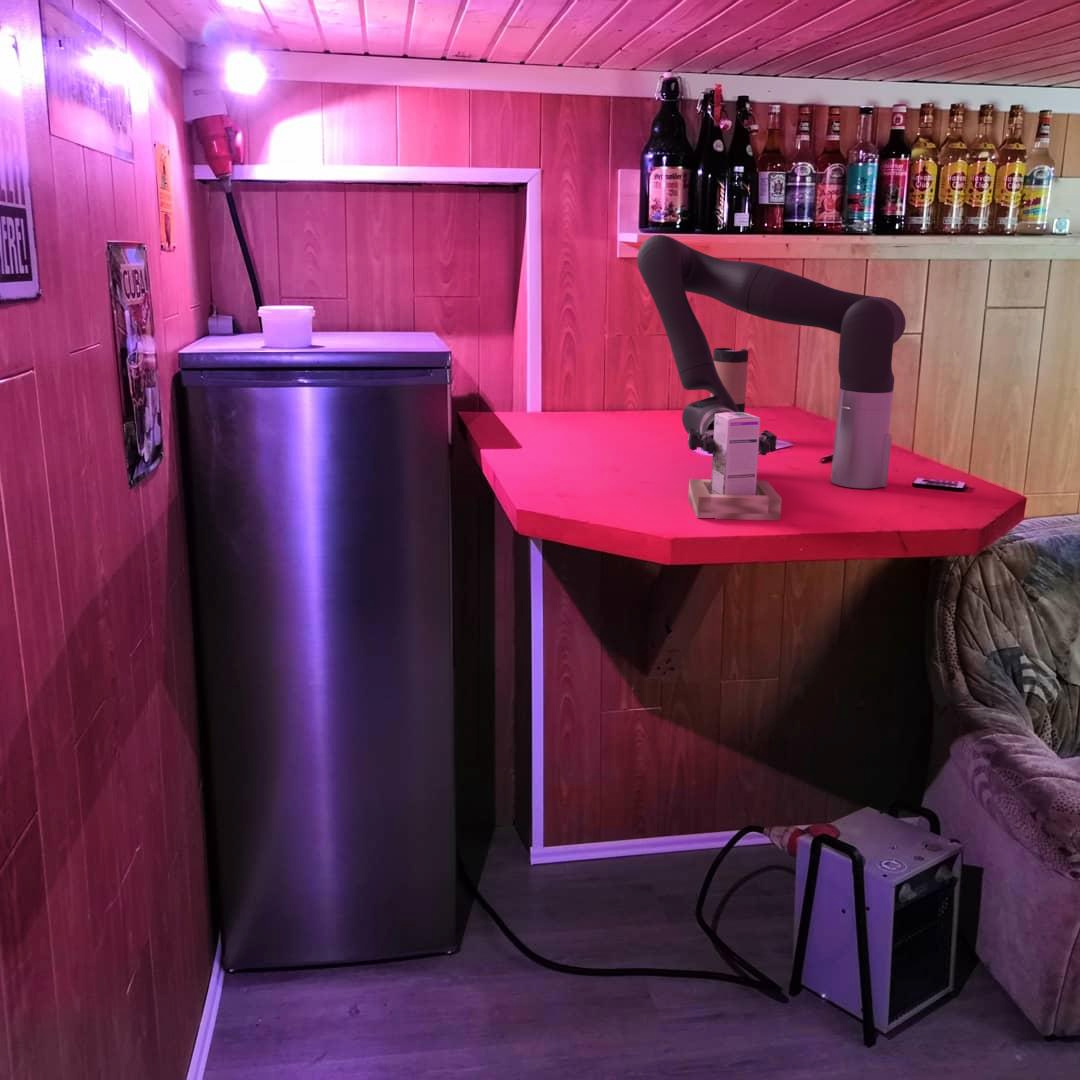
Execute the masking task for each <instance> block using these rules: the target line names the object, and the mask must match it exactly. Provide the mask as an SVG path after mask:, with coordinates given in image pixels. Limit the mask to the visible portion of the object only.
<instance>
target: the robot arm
mask: <svg viewBox="0 0 1080 1080" xmlns="http://www.w3.org/2000/svg"><path fill="white" fill-rule="evenodd" d="M636 261H637V268H638V270H639V272H640V275H641V277H642V280H643V281H644V283H645V285H646V288H647V290H648V291H649V294H650V296H651V298H652V300H653V302H654V304H655V307H656V309H657V310H656V311H657V312H658V313H659V317H660V319H661V322H662V324H663V328H664V331H665V333H666V336H667V340H668V343H669V346H670V349H671V352H672V355H673V359H674V363H675V367H676V369H677V373H678V377H679V380H680V384H681V386H682V387H683V389H684V390H686V391H700V390H701V391H707V392H709V393H710V394H711V393H712V394H713V397H707V398H703V399H699V400H696V401H692V402H691V403H688V404H687V405H686V406H685V407H684V409H683V411H682V415H681V419H682V420H681V421H682V425H683V428H684V429H685V432H686V433H687V434H688V438H687V445H688V448H689V450H690V451H696V450H698V448H700V451H703V452H707V454H708V455H713V447H714V441H713V440H714V422H715V413H716V414H717V413H725V412H739V410H738V408H737V405H736V404H735V402H734V400H733V399H732V397H731V396H730V394H729V393H728V391H727V390H726V388H725V387H724V385H723V383H722V381H721V380H720V377H719V375H718V373H717V370H716V367H715V365H714V361H713V353H712V350H711V348H710V345H709V342H708V339H707V337H706V335H705V332H704V331H703V328H702V326H701V324H700V322H699V320H698V318H697V316H696V315H695V313H694V311H693V308H692V306H691V304H690V302H689V301H690V300H689V299H688V296H687V293H692V294H697V295H701V296H705V297H709V298H712V299H714V300H715V301H718V302H720V303H721V304H724V305H726V306H729V307H730V308H732V309H736V310H737V311H740V312H742V313H746V314H748V315H751V316H755V317H758V318H762V319H765V320H769V321H772V322H776V323H777V322H778V323H783V324H788V325H795V326H804V327H812V328H817V329H818V328H820V329H823V330H828V331H830V332H833V333H836V334H838V335H840V336H839V346H838V347H839V348H838V349H839V351H838V365H837V367H838V369H837V370H838V374H839V389H838V390H839V391H838V392H839V393H838V401H837V402H838V403H837V412H836V422H835V423H836V424H835V432H834V444H833V452H832V454H833V455H832V464H831V472H830V473H831V474H830V482H831V483H832V484H833V485H836V486H840V487H846V488H853V489H877V488H878V489H879V488H887V484H888V475H889V468H890V467H889V466H890V458H891V457H890V455H891V448H892V440H893V439H892V438H893V436H892V434H890V433H889V431H890V424H891V423H890V422H891V414H892V406H893V397H894V396H893V395H894V386H895V375H894V374H893V367H892V364H893V352H894V351H893V350H894V344H895V343H897V342H898V341H899V340H900V338H901V337H902V336H903V334H904V332H905V331H906V326H907V325H906V324H907V323H906V318H905V314H904V312H903V310H902V309H901V307H900V306H899V304H897V303H896V302H894V301H893V300H891V299H888V298H887V297H881V296H873V295H871V296H870V295H866V294H859V293H853V292H849V291H844V290H840V289H836V288H832V287H830V286H827V285H826V284H825V285H824V284H823V283H820V282H818V281H816V280H812V279H809V278H807V277H804V276H802V275H798V274H795V273H794V272H793V273H792V272H789V271H787V270H784V269H780V268H777V267H772V266H768V265H766V264H763V263H758V262H757V263H756V262H750V261H742V260H741V261H740V260H725V259H721V258H717V257H714V256H712V255H709V254H706V253H704V252H701V251H698V250H697V249H695V248H692V247H690V246H688V245H687V244H684V243H683V242H681V241H679V240H677V239H676V238H673V237H671V236H667V235H665V234H656V235H655V234H654V235H652V236H650V237H648V238H647V239H646V240H645V241H643V242H642V244H641V246H640V247H639V249H638V252H637V260H636ZM777 437H778V436H777V435H776V434H774V433H773V432H771V431H770V430H767V429H765V430H762V431H761V432H760V434H759V447H758V454H760V455H761V456H767V454H768V453H770V452H771V453H772V452H773V453H774V452H776V450H777V440H778V438H777Z"/></svg>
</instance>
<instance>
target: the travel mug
mask: <svg viewBox="0 0 1080 1080" xmlns="http://www.w3.org/2000/svg"><path fill="white" fill-rule="evenodd" d="M712 357H713V361H714V365H715V367H716V370H717V373H718V375H719V377H720V380H721V381H722V383H723V385H724V387H725V388H726V390H727V391H728V393H729V394H730V396H731V397H732V399H733V400H734V402H735V404H736V405H737V408H738V410H739V412H744V413H745V407H746V397H747V383H748V382H747V380H748V366H749V365H748V364H749V349H745V348H741V349H740V350H733V349H732V348H731V347H717V348H716V347H715V348H714V349H713V353H712ZM710 397H713V394H712V393H711V392H710ZM710 397H709V398H710Z"/></svg>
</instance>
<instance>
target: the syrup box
mask: <svg viewBox="0 0 1080 1080" xmlns="http://www.w3.org/2000/svg"><path fill="white" fill-rule="evenodd" d="M760 427H761V417H759V416H756V415H753V414H751V413H747V412H745V411H744V412H725V413H717V414H716V413H715V422H714V440H713V441H714V447H713V454H712V459H711V460H712V462H711V467H712V468H711V478H710V480H711V494H719V495H756V481H758V480H757V477H758V463H759V461H758V460H759V452H758V447H759V435H760V429H761V428H760Z"/></svg>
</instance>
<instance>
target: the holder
mask: <svg viewBox="0 0 1080 1080" xmlns="http://www.w3.org/2000/svg"><path fill="white" fill-rule="evenodd" d="M687 495H688V497H687V500H688V499H689V500H688V502H689V505H690V506H691V508H692V510H693V512H695V513H694V515H695V514H696V515H695V517H696V516H697V517H696V518H697V519H698V518H715V519H714V520H745V521H746V520H747V521H751V520H752V521H781V514H782V513H781V511H782V501H783V499H782V497H781V496H780V494H778V492H776V490H775V489H774V487H773V486H772V485H771V484H770V483H769V482H768V481H767V480H757V481H756V495H719V494H711V479H700V478H699V479H698V478H696V479H695V478H690V479H689V480H688V494H687Z"/></svg>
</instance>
